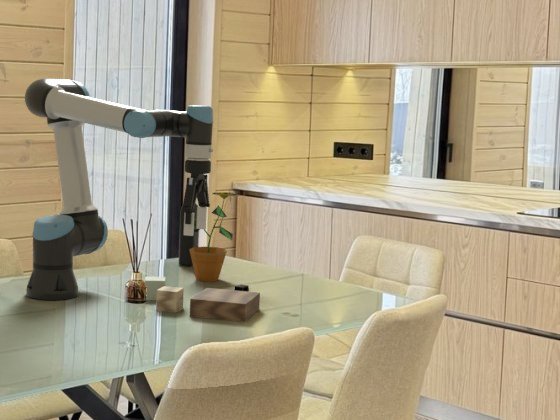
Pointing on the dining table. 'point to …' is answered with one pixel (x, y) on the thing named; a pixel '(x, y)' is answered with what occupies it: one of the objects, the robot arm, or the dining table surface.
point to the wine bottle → (187, 241)
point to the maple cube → (169, 299)
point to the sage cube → (153, 286)
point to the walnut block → (224, 304)
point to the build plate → (242, 288)
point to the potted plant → (210, 250)
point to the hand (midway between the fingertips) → (194, 232)
